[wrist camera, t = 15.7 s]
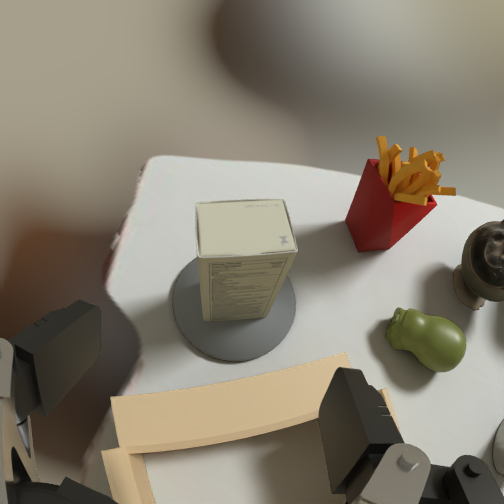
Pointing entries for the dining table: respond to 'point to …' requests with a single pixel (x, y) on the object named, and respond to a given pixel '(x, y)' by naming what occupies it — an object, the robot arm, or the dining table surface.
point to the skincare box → (242, 256)
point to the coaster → (230, 322)
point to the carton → (212, 418)
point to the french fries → (393, 196)
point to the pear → (427, 339)
